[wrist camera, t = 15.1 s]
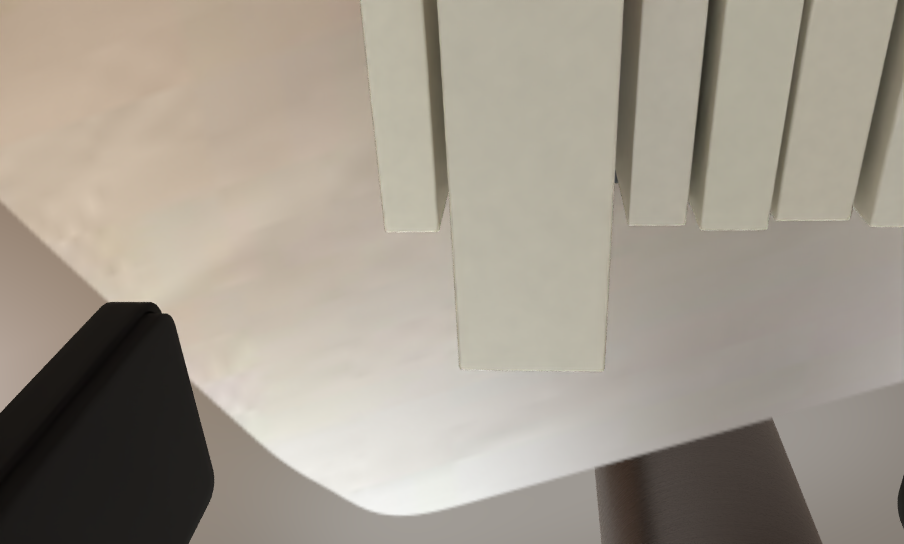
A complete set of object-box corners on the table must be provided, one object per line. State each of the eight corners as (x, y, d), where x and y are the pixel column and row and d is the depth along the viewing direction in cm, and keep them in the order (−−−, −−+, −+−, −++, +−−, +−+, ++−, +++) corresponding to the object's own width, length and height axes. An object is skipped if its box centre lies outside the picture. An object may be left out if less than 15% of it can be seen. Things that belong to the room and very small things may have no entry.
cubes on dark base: (979, -144, 21) (1141, -133, 15) (902, 167, 25) (1006, 264, 20) (394, -112, 23) (349, -91, 17) (418, 174, 27) (387, 265, 22)
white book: (586, -102, 22) (626, -44, 12) (579, 168, 25) (604, 372, 16) (478, -96, 22) (434, -36, 12) (487, 170, 26) (459, 371, 16)
